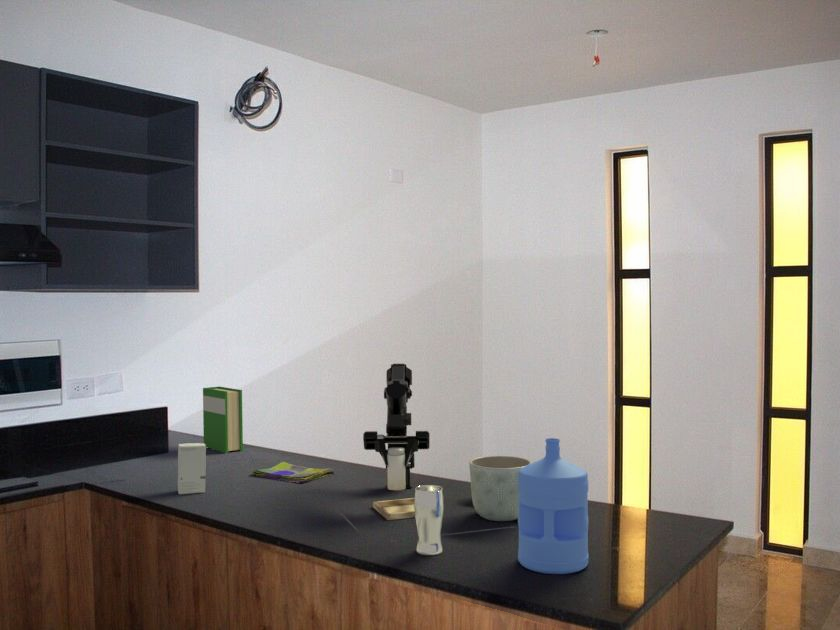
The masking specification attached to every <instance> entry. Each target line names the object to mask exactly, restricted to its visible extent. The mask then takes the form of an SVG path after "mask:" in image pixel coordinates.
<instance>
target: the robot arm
mask: <svg viewBox="0 0 840 630" xmlns="http://www.w3.org/2000/svg"><path fill="white" fill-rule="evenodd" d="M385 378H386V381H385V382H386V387H384V389H383V390H384V391H383V398H384V400H386V405H387V410H386V411H387V412H386V413H387V414H386V427H385V433H386V435H385V434H382V433H381V434H379V433H378V431H377V430H375V431H374V430H373V431H372V430H369V431H367V430H366V431H364V432H363V435H362V436H363V437H362V439H363V448H364V449H363V450H366V451H369V450H370V451H373V450H374V451H375V452H376V453H379V455H380V456H381V458H382V461H383V463H384V465H385V469H386V470H387V454H388V449H389V448H394V447H400V448H404V450H405V480H406V488H405V489H412V488H413V486H412V485H411V470H412V469H414V468H415V467H416V466H415V453H417V452H418V451H419V450H429V449H430V432H429V431H428V430H415V435H408V434H407V433H408V431H407V430H408V426H412V412H408V406H407V403H408V402H409V401H408V400H410V399H411V398H412V396H413V390H412V389H411V386H413V370H412V369H410V368H409V367H408V366H407V364H406V363H392V364H390V368H388V369H386V377H385ZM386 445H387V447H386ZM386 486H387V487H388V471H387V472H386Z"/></svg>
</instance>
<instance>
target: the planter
mask: <svg viewBox="0 0 840 630" xmlns="http://www.w3.org/2000/svg"><path fill="white" fill-rule="evenodd" d="M532 463H533V462H532V461H531V460H529V458H524V457H520V456H519V457H518V456H513V455H512V456H511V455H490V456H489V455H488V456H479V457H475V458H472V459H470V460H469V462H468V464H469V476H470V489H471V492H470V493H471V500H472V505H473V508H474V510H475V511H476V513H477V514H478V515H479V516H480V517H481V518H483V519H485V520H489V521H491V522H493V521H494V522H495V521H496V522H512V521H516V520H518V513H519V497H518V472H519V470H520V469H521V468H523V467H525V466H527V465H529V464H532Z"/></svg>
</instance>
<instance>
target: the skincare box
mask: <svg viewBox="0 0 840 630" xmlns="http://www.w3.org/2000/svg"><path fill="white" fill-rule="evenodd" d="M206 453H207V448H206V445H205V444H204V442H198V443H197V442H194V443H193V442H192V443H191V442H190V443H189V442H188V443H187V442H186V443H178V444H177V492H178V495H188V494H189V495H191V494H199V493H200V494H201V493H205V492H206V464H207V463H206V462H207V461H206V459H207V457H206V456H207V454H206Z"/></svg>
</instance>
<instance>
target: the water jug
mask: <svg viewBox="0 0 840 630" xmlns="http://www.w3.org/2000/svg"><path fill="white" fill-rule="evenodd" d="M560 441H561V440H560V439H559V438H555V437H554V438H553V437H550V438H545V443H546V444H545V456H544V457H543V458H541V459H539V460H536V461H533V462H532V464H529V465H527V466H525V467H523V468H521V469H520V470H519V472H518V497H519V513H518V519H517V526H518V550H517V560H518V562H519V563H520V566H522V567H524V568H525V569H528V570H530V571H532V572H536V573H541V574H548V575H549V574H550V575H567V574H568V575H569V574H573V573H577V572H580V571H582V570H583V569H586V567H587V566H588V564H589V561H590V560H589V558H590V556H589V555H590V554H589V546H588V545H589V541H588V540H589V537H588V536H589V535H588V534H589V531H588V530H589V515H588V514H589V513H588V512H589V511H588V507H589V506H588V505H589V504H588V500H589V499H588V493H589V478H588V472H587V471H586V469H583V468H582V467H580V466H578V465H576V464H574V463H571V462H570V461H567V460H566V459H564V458H562V457H561V455H560V452H561V451H560V450H561V446H560V443H561V442H560Z"/></svg>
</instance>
